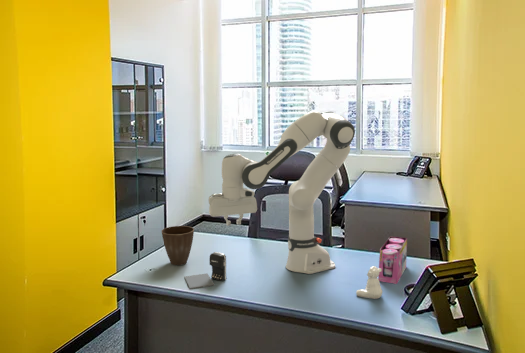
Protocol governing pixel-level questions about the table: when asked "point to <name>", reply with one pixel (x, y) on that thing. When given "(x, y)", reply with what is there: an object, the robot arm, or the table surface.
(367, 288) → the white creature statuette
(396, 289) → the table surface
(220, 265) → the battery charger
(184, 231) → the plant pot
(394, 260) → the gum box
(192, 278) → the mat
